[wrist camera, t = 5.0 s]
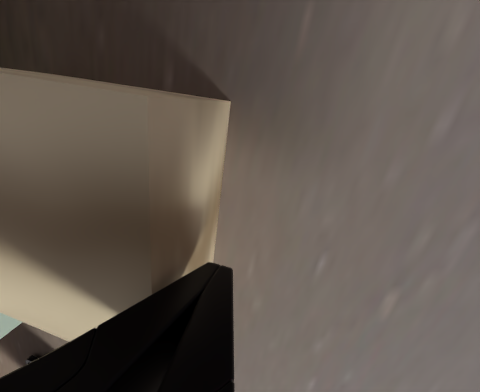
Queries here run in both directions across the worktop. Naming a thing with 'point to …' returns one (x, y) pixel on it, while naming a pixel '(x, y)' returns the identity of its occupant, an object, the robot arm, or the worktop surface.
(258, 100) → the worktop surface
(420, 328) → the worktop surface
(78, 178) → the maple block
